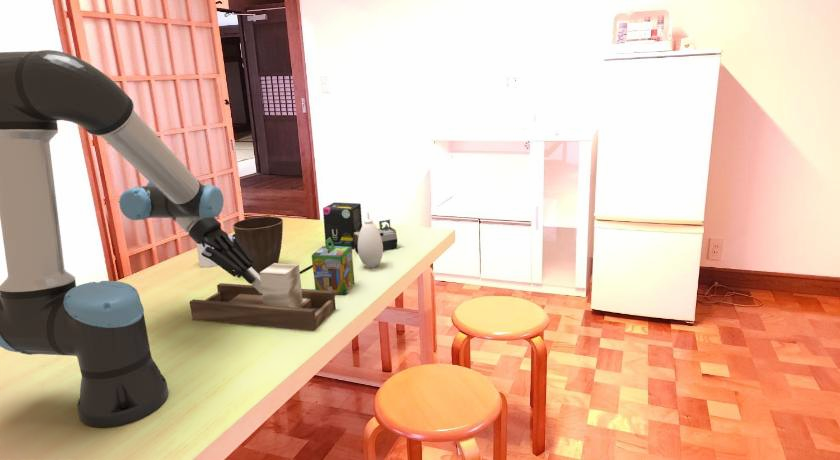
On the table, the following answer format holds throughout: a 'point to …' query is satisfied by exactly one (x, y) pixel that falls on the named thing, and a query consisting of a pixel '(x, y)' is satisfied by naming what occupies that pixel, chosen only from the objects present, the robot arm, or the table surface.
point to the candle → (204, 258)
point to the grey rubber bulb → (370, 244)
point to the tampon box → (342, 223)
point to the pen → (306, 269)
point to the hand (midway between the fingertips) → (264, 289)
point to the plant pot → (261, 239)
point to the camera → (382, 237)
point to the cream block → (281, 285)
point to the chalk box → (333, 268)
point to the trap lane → (263, 308)
